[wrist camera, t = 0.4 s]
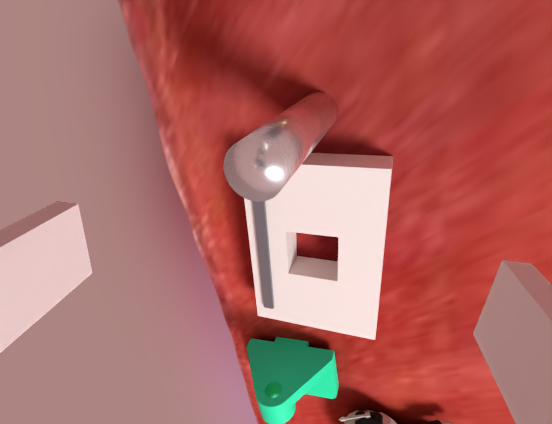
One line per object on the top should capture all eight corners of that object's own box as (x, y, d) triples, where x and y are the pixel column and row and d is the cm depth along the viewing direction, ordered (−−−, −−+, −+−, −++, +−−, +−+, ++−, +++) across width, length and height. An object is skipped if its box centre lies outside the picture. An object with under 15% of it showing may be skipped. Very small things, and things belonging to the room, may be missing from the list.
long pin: (323, 83, 31) (257, 126, 17) (345, 117, 31) (297, 183, 18) (292, 106, 32) (211, 161, 19) (313, 138, 33) (249, 211, 20)
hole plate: (253, 150, 36) (238, 162, 33) (393, 156, 31) (391, 170, 28) (267, 297, 45) (256, 318, 42) (377, 317, 41) (374, 342, 37)
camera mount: (263, 369, 53) (235, 435, 44) (253, 332, 50) (221, 396, 41) (340, 383, 48) (325, 459, 40) (335, 344, 45) (318, 417, 37)
